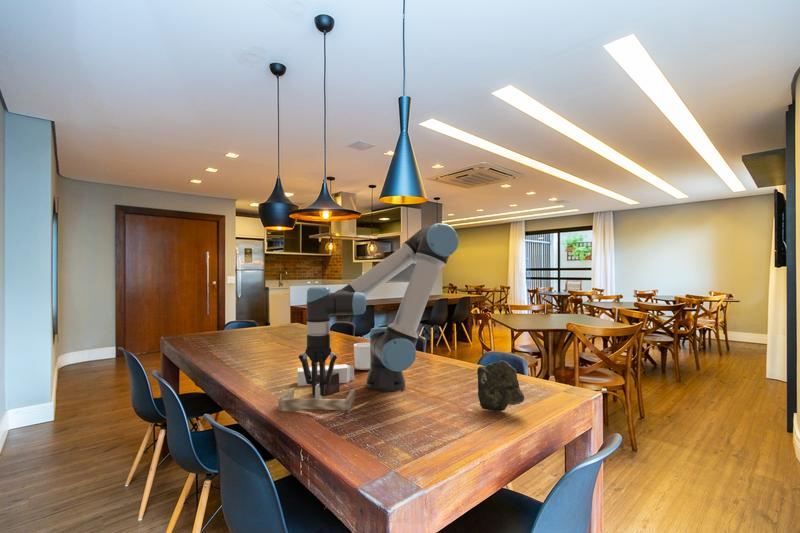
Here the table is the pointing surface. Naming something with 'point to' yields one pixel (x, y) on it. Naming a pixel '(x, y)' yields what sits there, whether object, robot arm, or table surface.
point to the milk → (344, 370)
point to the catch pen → (314, 403)
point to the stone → (498, 386)
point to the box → (330, 383)
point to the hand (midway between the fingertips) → (318, 404)
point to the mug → (362, 356)
